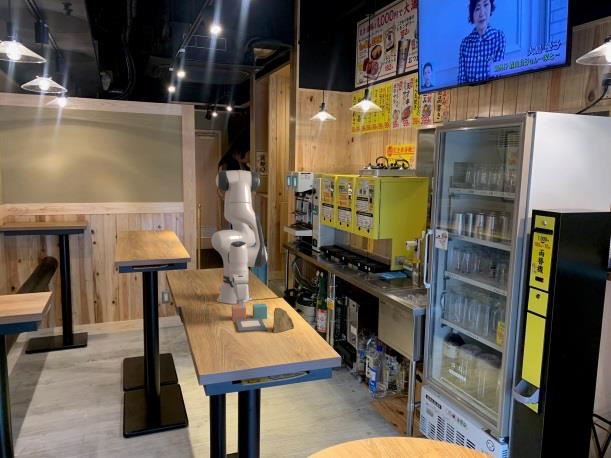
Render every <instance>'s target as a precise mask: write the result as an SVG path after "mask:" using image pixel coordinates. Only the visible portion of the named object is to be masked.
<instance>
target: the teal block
mask: <svg viewBox="0 0 611 458" xmlns="http://www.w3.org/2000/svg"><path fill="white" fill-rule="evenodd" d="M252 318H261V319H262V320H267V319H268V306H267V305H266V303H252Z"/></svg>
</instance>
